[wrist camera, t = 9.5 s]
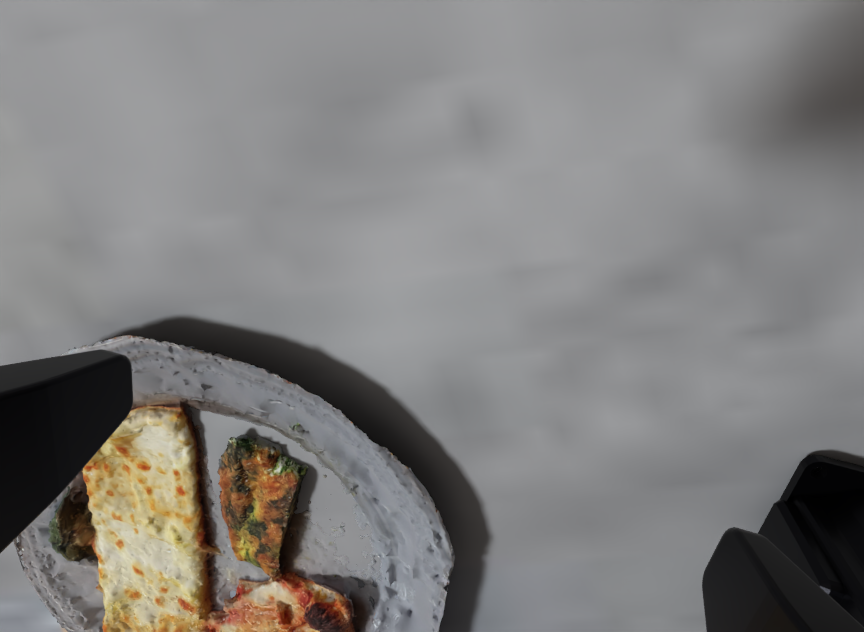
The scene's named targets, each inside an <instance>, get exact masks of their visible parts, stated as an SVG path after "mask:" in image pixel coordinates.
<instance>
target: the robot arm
mask: <svg viewBox="0 0 864 632" xmlns="http://www.w3.org/2000/svg"><path fill="white" fill-rule="evenodd" d="M132 405H133V384H132V365H131V362H130V360H129V358H128V357H127V356H125V355H122V354H119V353H115V352H112V351H108V350H103V349H100V350H93V351H87V352H81V353H75V354H69V355H63V356H57V357H51V358H45V359H39V360H33V361H27V362H21V363H15V364H9V365H3V366H0V553H1V552H2V551H3V550H4V549H5V548H6V547H7V546H8V545H9V544H10V543H11V542H12V541H13V540H14V539H15V538H17V537H18V536H19V535H20V534H21V533H22V532H23V531H24V530H25V529H26V528H27V527H28V526H29V525H30V524H31V523H32V522H33V521H34V520H35V519H36V518H37V517H38V516H39V515H40V514H41V513H42V512H43V511H44V510H45V509H46V508H47V507H48V506H49V505H50V504H51V503H52V502H53V501H54V500H55V499H56V498H57V497H58V496H59V495H60V494H61V493H62V492H63V491H64V490H65V488H66V487H67V486H68V485H69V484H70V483H71V482H72V481H73V480H74V478H75V477H76V476H77V475H78V474H79V472H80V471H81V470H82V469H83V468H84V467H85V465H86V464H87V463H88V462H89V461H90V460H91V458H92V457H93V456H94V455H95V454H96V453H97V451H98V450H99V449H100V448H101V447H102V446H103V444H104V443H105V442H106V441H107V440H108V439H109V437H110V436H111V435H112V434H113V433H114V432H115V430H116V429H117V428H118V427H119V426H120V425H121V423H122V422H123V421H124V420H125V419H126V417H127V416H128V414H129V413H130V411H131V408H132ZM817 467H822V469H821V470H820V471H818V472H811V471H812V470H813V469H815V468H817ZM702 589H703V599H704V609H705V618H706V628H707V632H864V467H862V466H858V465H854V464H851V463H847V462H843V461H839V460H835V459H831V458H828V457H824V456H819V455H812V456H808V457H806V458H804V459H803V460H802V461H801V462H800V464H799V465H798V467H797V469H796V471H795V473H794V474H793V476H792V478H791V480H790V482H789V484H788V485H787V487H786V489H785V491H784V493H783V494H782V496H781V498H780V500H779V501H777V502H776V503H774V505H773V507H772V508H771V510H770V512H769V514H768V516H767V518H766V519H765V521H764V523H763V525H762V527H761V528H760V530H759V532H758V534H757V533H753V532H750V531H746V530H743V529H739V528H735V527H733V528H730V529H728V530H727V531H726V532H725V533H724V534H723V536H722V538H721V540H720V542H719V544H718V545H717V547H716V549H715V551H714V553H713V555H712V557H711V559H710V561H709V563H708V565H707V567H706V569H705V571H704V575H703V581H702Z"/></svg>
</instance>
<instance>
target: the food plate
mask: <svg viewBox="0 0 864 632" xmlns="http://www.w3.org/2000/svg"><path fill="white" fill-rule="evenodd" d="M192 347H193V346H190V347H185V346H184V345H176V344H175V343H169V342H166V341H164V342H163V341H162V342H157V341H156V340H154V339H151V338H150V339H146V338H144V337H140V336H139V337H137V336H130V335H127V336H125V335H122V336H120V337H114V338H112V339H109V340H108V341H107V340H102V342H97V343H95V344H94V346H90V345H88V346H86V345H85V346H82V347H80V348H78V349H76V348H75V347H74V348H75V349H74V348H73V350H72V351H70V349H69V351H68V352H67V353H64V354H63V355H69V354H75V353H81V352H87V351H93V350H100V349H103V350H108V351H112V352H115V353H119V354H122V355H125V356H127V357H128V358H129V360H130V362H131V365H132V384H133V405H132V408H131V411H130V413H129V414H128V416H127V417H126V419H125V420H124V421H123V422H122V423H121V425H120V426H119V427H118V428H117V429H116V430H115V432H114V433H113V434H112V435H111V436H110V437H109V439H108V440H107V441H106V442H105V443H104V444H103V446H102V447H101V448H100V449H99V450H98V451H97V453H96V454H95V455H94V456H93V457H92V458H91V460H90V461H89V462H88V463H87V464H86V465H85V467H84V468H83V469H82V470H81V471H80V472H79V474H78V475H77V476H76V477H75V478H74V480H73V481H72V482H71V483H70V484H69V485H68V486H67V487H66V488H65V490H64V491H63V492H62V493H61V494H60V495H59V496H58V497H57V498H56V499H55V500H54V501H53V502H52V503H51V504H50V505H49V506H48V507H47V508H46V509H45V510H44V511H43V512H42V513H41V514H40V515H39V516H38V517H37V518H36V519H35V520H34V521H33V522H32V523H31V524H30V525H29V526H28V527H27V528H26V529H25V530H24V531H23V532H22V533H21V534H20V535H19V536H18V538H19V542H18V543H17V540H16V539H17V538H15V539H14V540H13V541H14V544H15V547H16V550H17V548H18V550H17V553H18V552H19V551H20V550H21V552H22V555H19V553H18V556H19V559H20V562H21V560H22V561H25V563H24V565H25V567H23V565H22V563H21V565H22V567H23V570H24V572H25V574H26V576H27V578H28V579H29V581H30V584H31V586H32V587H33V588H34V589H35V591H36V592H37V594H38V596H39V597H40V600H41V601H42V602H43V603H44V604H45V606H46V607H47V608H48V610H49V611H50V612H51V614H52V615H53V616H54V617H56V619H57V622H58V623H59V624H60V625H61V627H62V628H65V629H66V630H67V631H68V632H439V626H440V622H441V619H442V617H443V611H444V606H445V599H446V595H447V592H446V591H445V589H443V587H445V586H446V584H448V585H449V581H450V580H448V576H449V571H450V568H451V567H452V568H451V572H450V576H451V573H452V570H453V567H454V560H455V554H454V551H453V547H452V546H451V542H450V538H449V534H448V532H447V530H446V529H445V527H446V526H443V519H442V518H441V516H440V512H439V510H437V509H436V507H434V506H435V504H434V501H433V500H432V498H431V497H429V493H428V492H427V490H426V488H425V487H424V486H423V485H422V484H421V482H420V481H419V480H418V479H417V478H416V476H415V475H414V473H413V472H412V470H411V469H410V468H408V467H407V466H405V465H403V464H401V462H400V461H398V460H397V457H396V456H395V455H394V456H393V454H392V453H390V452H389V451H388V449H387V448H386V447H380V446H379V445H378V444H376V443H374V442H372V441H371V440H370V439H368V436H367V435H366V434H365V433H363V432H362V431H361V430H359V429H358V428H357V426H354V425H353V423H352V421H349V418H348V419H347V418H346V417H345V415H344V414H343V413H342V412H341V410H339V409H336V408H333V407H332V405H331V404H329V403H327V401H324V399H322V398H320V397H319V396H317V395H314V394H311V393H308V392H307V391H305V390H304V389H303V388H301V387H300V386H298V385H297V384H294V383H291V382H289V381H287V380H285V379H282V378H280V376H278V375H274V374H270V373H268V372H271V371H269V370H266V369H264V368H260V367H258V366H256V367H255V365H250V364H248V363H243V362H241V361H237V360H235V359H232V358H227V356H224V355H220V354H219V353H217V352H216V353H217V354H215V355H212V354H211V352H210V353H206V352H204V350H197V349H194V348H196V347H193V349H192ZM63 355H62V354H61V355H60V356H63ZM267 371H268V372H267ZM271 373H272V372H271ZM275 374H276V373H275ZM189 407H194V408H195V409H198V410H202V411H210V412H212V413H216V414H220V415H224V416H228V417H234V418H236V419H238V420H244V421H247V422H251V423H253V424H256V425H259V426H261V425H263V426H266V427H270V428H273V429H275V430H276V431H278V432H280V433H281V434H282V435H284V436H285V437H288V438H290V439H292V440H294V441H296V442H297V443H300V444H301V445H300V447H301V448H302V449H304V450H305V451H308V452H311V453H313V454H315V455H316V456H317V461H318V463H320V464H322V467H325V468H328V469H330V470H332V471H333V472H334V473H335V475H337V476H338V477H339V479H340V480H341V485H342V486H344V490H343V492H344V493H346V494H350V493H351V494H352V496H353V498H354V500H355V502H356V503H357V505H354V506H353V513H354V514H356V515H357V516H356V518H355V521H357V522H358V526H359V528H360V529H361V530H364V529H365V527H366V524H367V525H368V526H370V527H371V530H372V532H371V536H372V537H371V538H370V542H371V545H372V548H373V552H371V554H369V555H370V556H371V558H372V560H371V563H369V564H368V568H367V569H363V570H357V571H350V570H348V569H347V568H346V566H345V565H346V564H347V563H349V559H348V557H347V556H344V555H342V556H339V557H338V556H336V555H334V553H336V551H337V548H336V544H335V543H334V542H335V538H336V537H339V536H344V535H343V534H344V532H345V530H344V528H343V527H344V526H345V524H344V523H341V524H340V526H341V527H338V528H337V527H331V530H332V531H339V532H340V535H337V534H334V533H331V534H330V535H328V534H326V533H324V532H323V530H322V528H321V527H320V526H318V523H317V522H316V524H313V523H312V522H311V519H310V516H311V513H309V512H308V511H307V510H306V511H304V512H303V513H299V514H296V513H294V511H296V510H297V502H298V494H299V492H300V488H301V482H302V480H303V476H305V475H306V472H307V469H308V467H309V466H307V465H305V464H304V465H298V464H297V463H296V461H294V460H292V459H290V458H288V457H287V456H285V455H284V454H283V452H282V449H281V447H280V445H278V444H275V443H272V442H270V441H269V440H266V439H263V438H262V437H260V436H257V437H256V438H255V439H251V438H250V437H249V436H247V435H240V436H238V437H237V438H234V437H231V438H230V439H229V441H228V442H229V443H228V445H227V446H228V447H227V449H226V451H225V453H224V454H223V455H222V456H221V459H219V469H218V474H219V475H220V482H219V483H218V484H219V485H220V486H221V488H222V491H220V493H221V494H220V499H221V502H220V503H221V504H215V505H214V504H212V502H213V501H215V500H216V495H215V494H214V493H213V492H214V491H213V487H212V481H211V480H210V477H209V474H208V472H209V470H208V469H207V463H208V459H207V456H206V455H204V454H203V451H204V448H203V445H202V442H201V437H200V434H199V430H198V429H201V428H200V426H198V425H197V426H194V425H193V421H192V413H191V411H190V410H189ZM194 429H195V430H194ZM202 467H203V468H202ZM326 477H327V476H326V475H323V478H326ZM330 495H331V494H330ZM308 503H309V504H310V503H311V502H310V501H309V502H308ZM316 509H317V508H316ZM326 509H327V508H326ZM306 517H307V518H308V519H309V520H308V519H306ZM329 520H331V519H329ZM290 534H292V537H291V536H290ZM335 536H336V537H335ZM359 537H360V538H361V539H363V538H362V537H369V535H368V534H367V535H365V536H361V535H360V536H359ZM316 540H318V541H319V542H320V543H318V542H317V541H316ZM365 548H366V547H365ZM362 555H363V557H364V558H365V559H366V558H367V555H368V552H366V551H362ZM375 555H377V556H378V557H379V558H380V560H381V563H380V565H381V566H380V571H379V572H380V573H381V574H382V576H383V579H382V580H380V579H378V578H379V577H380V575H379V574H378V573H376V571H375V570H374V568H373V567H372V566H373V565H374V564H375V563H376V561H375V559H374V557H375ZM229 558H231V560H230V559H229ZM337 559H338V560H339V561H340V562H341V564H338V563H336V561H335V560H337ZM356 565H357V564H356ZM371 572H372V573H371ZM356 574H357V576H358V578H359V580H362V581H363V582H364V583H365V586H364V587H363V588H359V587H358V581H356V580H355V579H353V578H351V576H352V575H356ZM364 574H365V575H366V574H367V575H366V577H363V576H362V575H364ZM372 575H373V576H375V577H376V578H377V579H375V581H376V582H377V583H378V584H377V586H376V587H373V586H372V584H373V579H372V578H371V576H372ZM232 590H233V591H236V595H235V597H233V598H231V597H230V591H232ZM447 590H448V588H447ZM395 594H397V595H398V599H395V598H394V595H395ZM369 597H372V598H373V599H374V601H375V603H374V606H372V602H370V601H369V600H370V599H369ZM373 607H374V608H373Z"/></svg>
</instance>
